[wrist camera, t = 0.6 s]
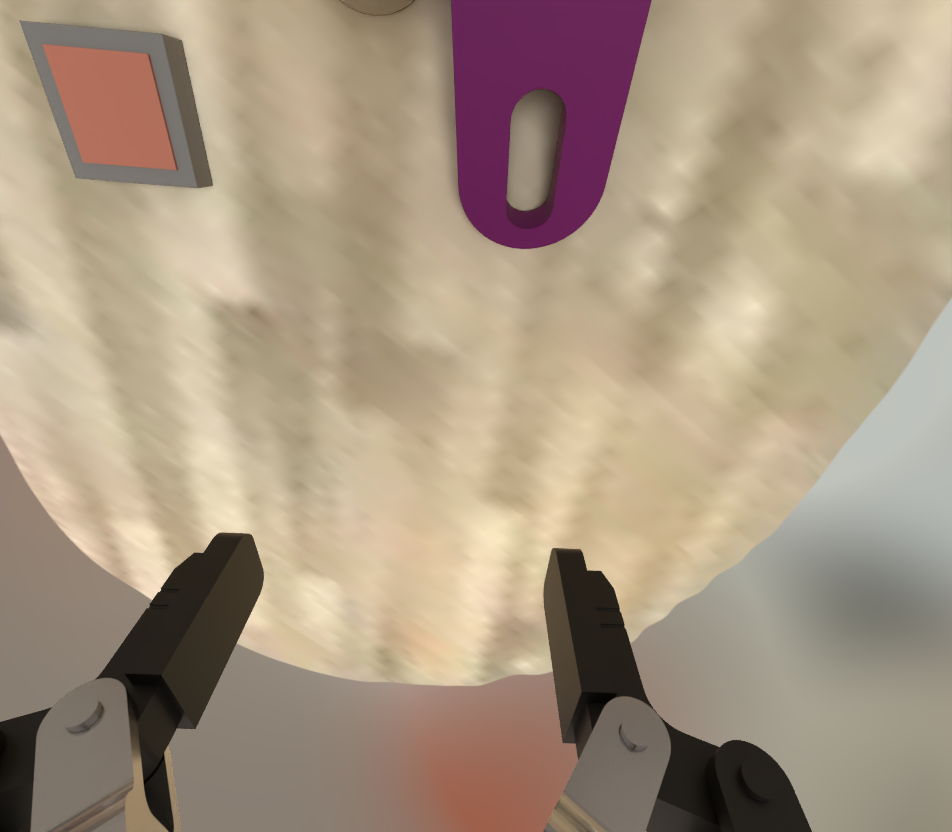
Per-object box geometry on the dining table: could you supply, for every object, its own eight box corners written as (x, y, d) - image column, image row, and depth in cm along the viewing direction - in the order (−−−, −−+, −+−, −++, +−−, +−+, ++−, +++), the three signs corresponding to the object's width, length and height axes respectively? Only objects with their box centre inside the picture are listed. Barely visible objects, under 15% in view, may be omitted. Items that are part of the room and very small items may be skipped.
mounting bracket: (575, 184, 37) (645, -179, 21) (589, 248, 32) (690, -153, 17) (462, 183, 37) (452, -179, 21) (459, 248, 32) (445, -153, 17)
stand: (48, 28, 27) (16, 19, 25) (181, 40, 27) (159, 33, 25) (97, 176, 31) (73, 178, 29) (212, 185, 31) (195, 188, 30)
